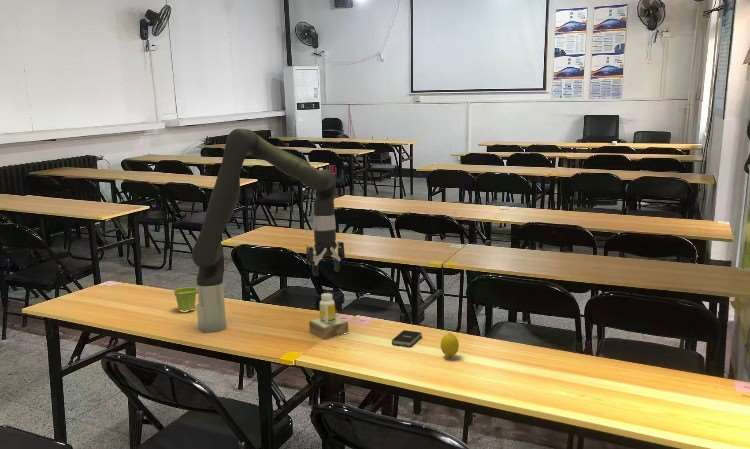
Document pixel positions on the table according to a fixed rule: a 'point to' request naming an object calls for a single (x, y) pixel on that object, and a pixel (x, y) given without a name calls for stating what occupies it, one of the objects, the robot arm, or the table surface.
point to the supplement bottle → (327, 308)
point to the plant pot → (186, 298)
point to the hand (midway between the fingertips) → (326, 273)
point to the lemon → (449, 345)
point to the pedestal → (328, 328)
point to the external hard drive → (406, 338)
